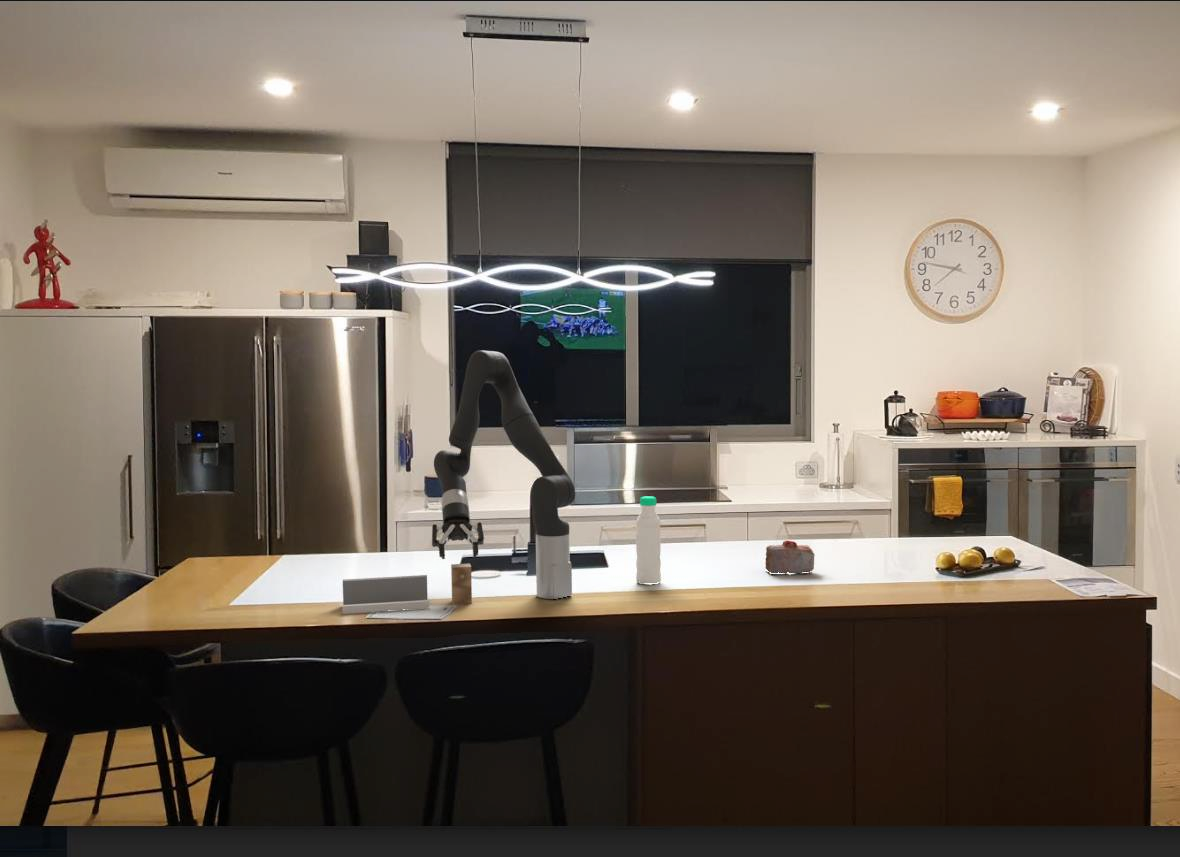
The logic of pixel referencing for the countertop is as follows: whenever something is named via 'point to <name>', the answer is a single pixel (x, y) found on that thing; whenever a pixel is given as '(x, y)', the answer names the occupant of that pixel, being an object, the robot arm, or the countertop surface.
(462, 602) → the walnut cabinet block
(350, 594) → the grey display ledge
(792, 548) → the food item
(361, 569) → the countertop surface
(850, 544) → the countertop surface
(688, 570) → the countertop surface
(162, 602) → the countertop surface
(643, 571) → the water bottle
